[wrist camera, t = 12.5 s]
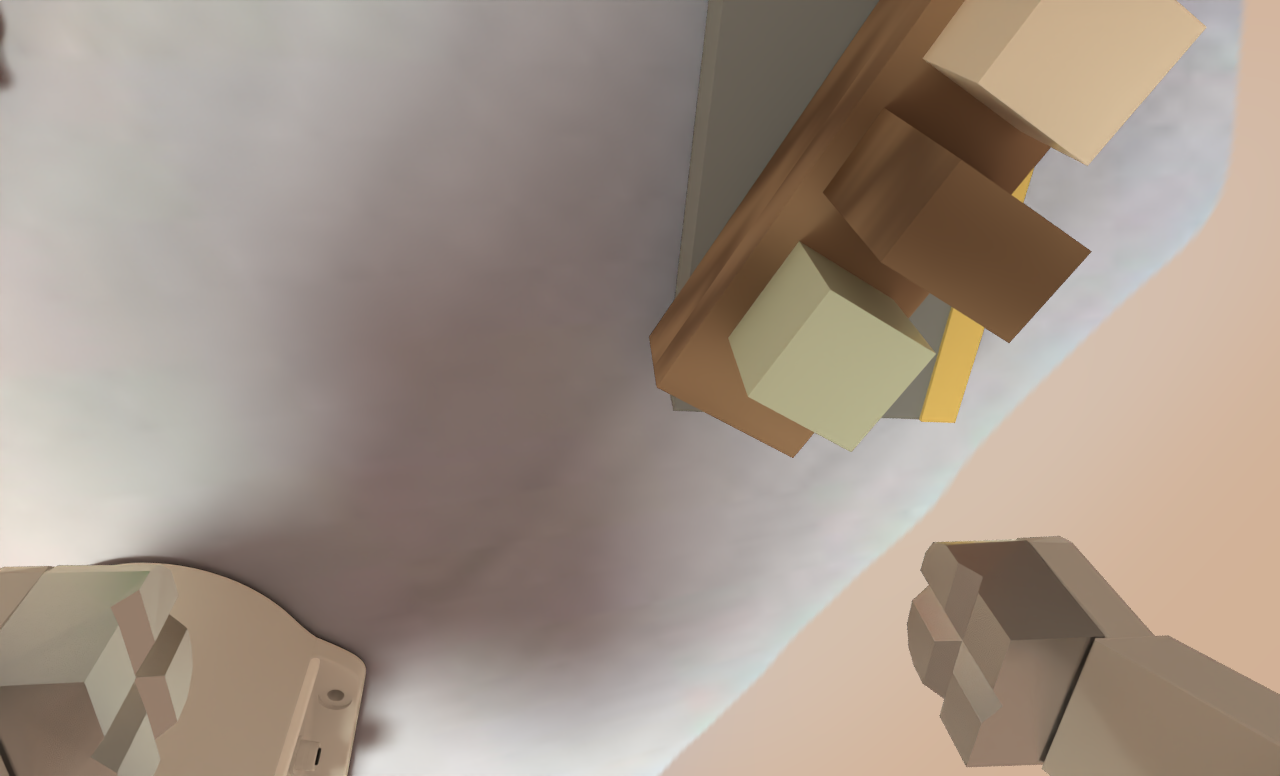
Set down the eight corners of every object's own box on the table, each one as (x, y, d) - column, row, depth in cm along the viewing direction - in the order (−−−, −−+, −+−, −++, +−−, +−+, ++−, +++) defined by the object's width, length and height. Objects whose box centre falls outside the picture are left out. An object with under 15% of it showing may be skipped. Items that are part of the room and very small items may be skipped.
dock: (927, 385, 39) (954, 422, 36) (665, 375, 38) (674, 413, 35) (1092, -196, 28) (1150, -207, 25) (735, -238, 27) (755, -254, 24)
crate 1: (820, 389, 30) (851, 452, 27) (728, 337, 29) (748, 396, 25) (893, 299, 29) (936, 354, 25) (799, 241, 27) (830, 289, 24)
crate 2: (1020, 131, 26) (1087, 166, 23) (922, 58, 25) (977, 83, 21) (1118, 10, 24) (1206, 27, 21) (1019, -74, 23) (1095, -71, 20)
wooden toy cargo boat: (772, 403, 35) (834, 567, 26) (648, 336, 33) (672, 489, 25) (1141, -65, 27) (1403, -52, 19) (1006, -186, 25) (1226, -233, 17)
